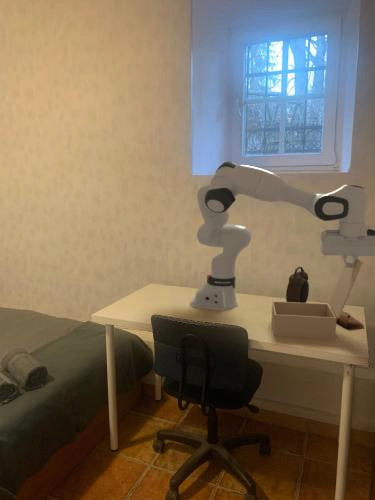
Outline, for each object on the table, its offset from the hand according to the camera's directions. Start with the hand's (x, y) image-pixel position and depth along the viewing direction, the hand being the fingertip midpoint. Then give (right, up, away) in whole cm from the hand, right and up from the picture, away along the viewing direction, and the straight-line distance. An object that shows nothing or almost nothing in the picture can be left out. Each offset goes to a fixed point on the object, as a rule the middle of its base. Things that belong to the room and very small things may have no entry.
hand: (349, 267), depth 140 cm
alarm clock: (-8, -21, +38) cm, 44 cm away
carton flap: (0, -7, +4) cm, 8 cm away
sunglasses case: (+8, -25, +22) cm, 34 cm away
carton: (-15, -27, +10) cm, 32 cm away
